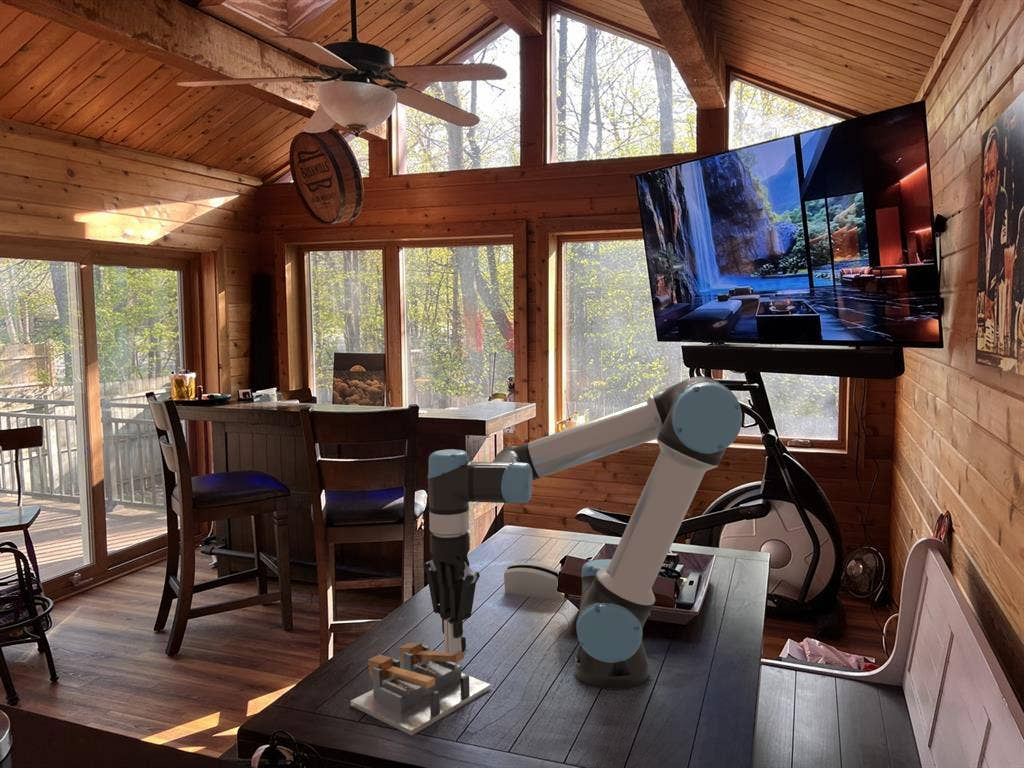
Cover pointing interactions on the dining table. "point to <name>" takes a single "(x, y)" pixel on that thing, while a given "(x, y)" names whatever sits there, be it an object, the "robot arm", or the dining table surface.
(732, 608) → the dining table surface
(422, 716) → the heatsink base
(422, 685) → the strap left
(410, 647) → the strap right
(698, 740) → the dining table surface
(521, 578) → the pale grey rounded block
